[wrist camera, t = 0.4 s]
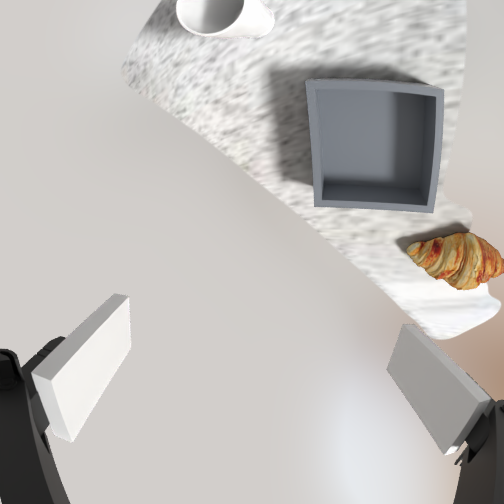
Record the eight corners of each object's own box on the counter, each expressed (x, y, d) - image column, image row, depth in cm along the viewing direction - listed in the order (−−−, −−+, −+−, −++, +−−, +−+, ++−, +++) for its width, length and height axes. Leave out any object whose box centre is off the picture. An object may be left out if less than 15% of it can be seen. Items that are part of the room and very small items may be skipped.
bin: (309, 78, 32) (305, 81, 28) (429, 84, 28) (443, 89, 23) (317, 187, 42) (314, 206, 37) (422, 193, 37) (432, 213, 32)
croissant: (399, 246, 47) (397, 289, 44) (414, 216, 38) (415, 266, 35) (493, 260, 41) (496, 300, 38) (519, 235, 33) (525, 280, 30)
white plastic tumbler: (233, -2, 27) (178, -26, 16) (284, 1, 26) (252, -29, 15) (227, 41, 31) (171, 37, 20) (277, 46, 31) (242, 39, 19)
